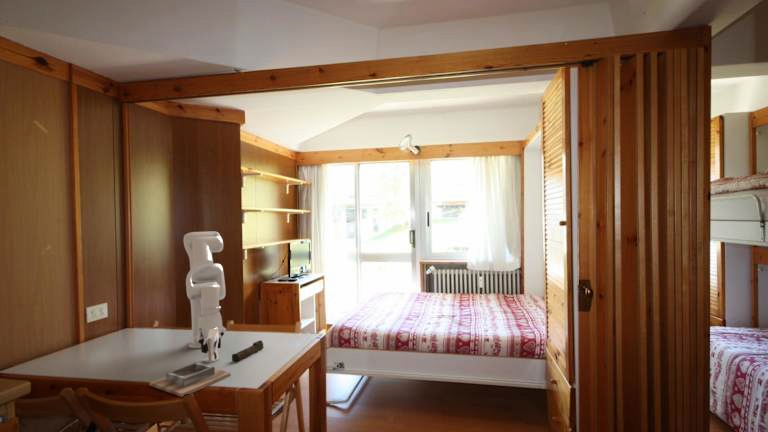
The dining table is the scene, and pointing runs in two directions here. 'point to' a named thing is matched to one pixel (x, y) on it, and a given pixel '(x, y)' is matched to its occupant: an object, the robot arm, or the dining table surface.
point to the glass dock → (189, 379)
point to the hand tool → (247, 351)
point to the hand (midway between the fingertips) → (211, 349)
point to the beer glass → (212, 345)
